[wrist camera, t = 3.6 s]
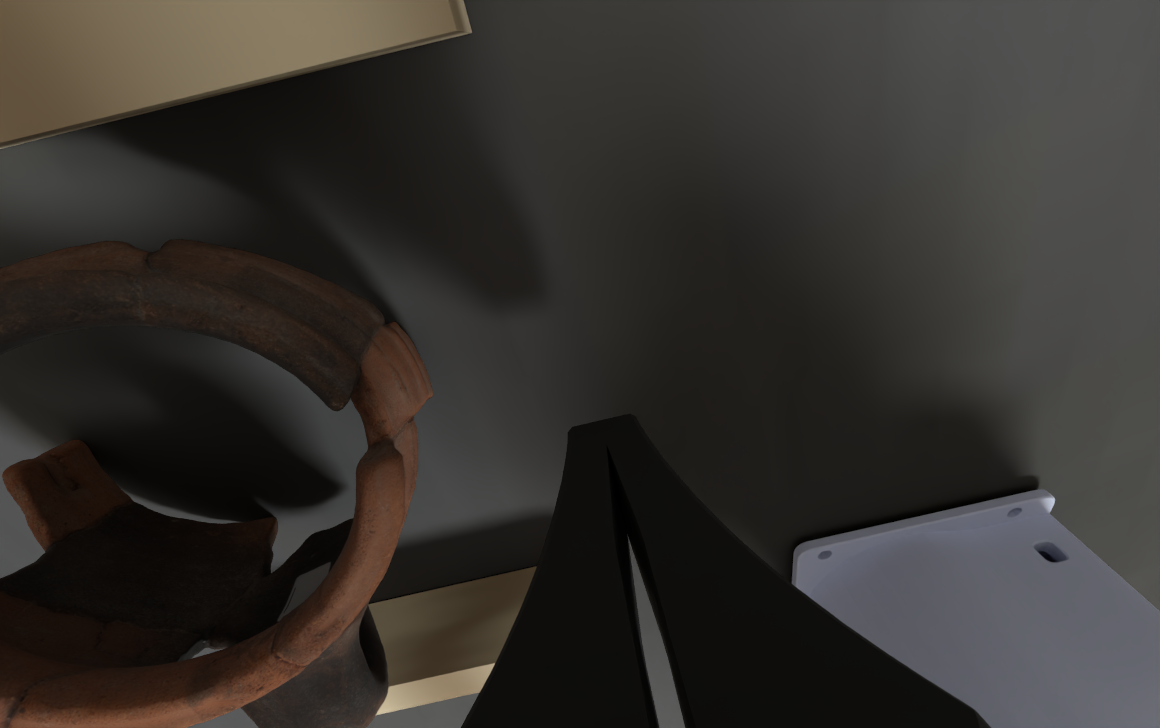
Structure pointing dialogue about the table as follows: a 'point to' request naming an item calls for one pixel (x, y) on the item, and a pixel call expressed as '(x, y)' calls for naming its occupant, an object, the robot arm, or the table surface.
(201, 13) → the cradle
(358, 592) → the pottery mug
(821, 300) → the table surface
